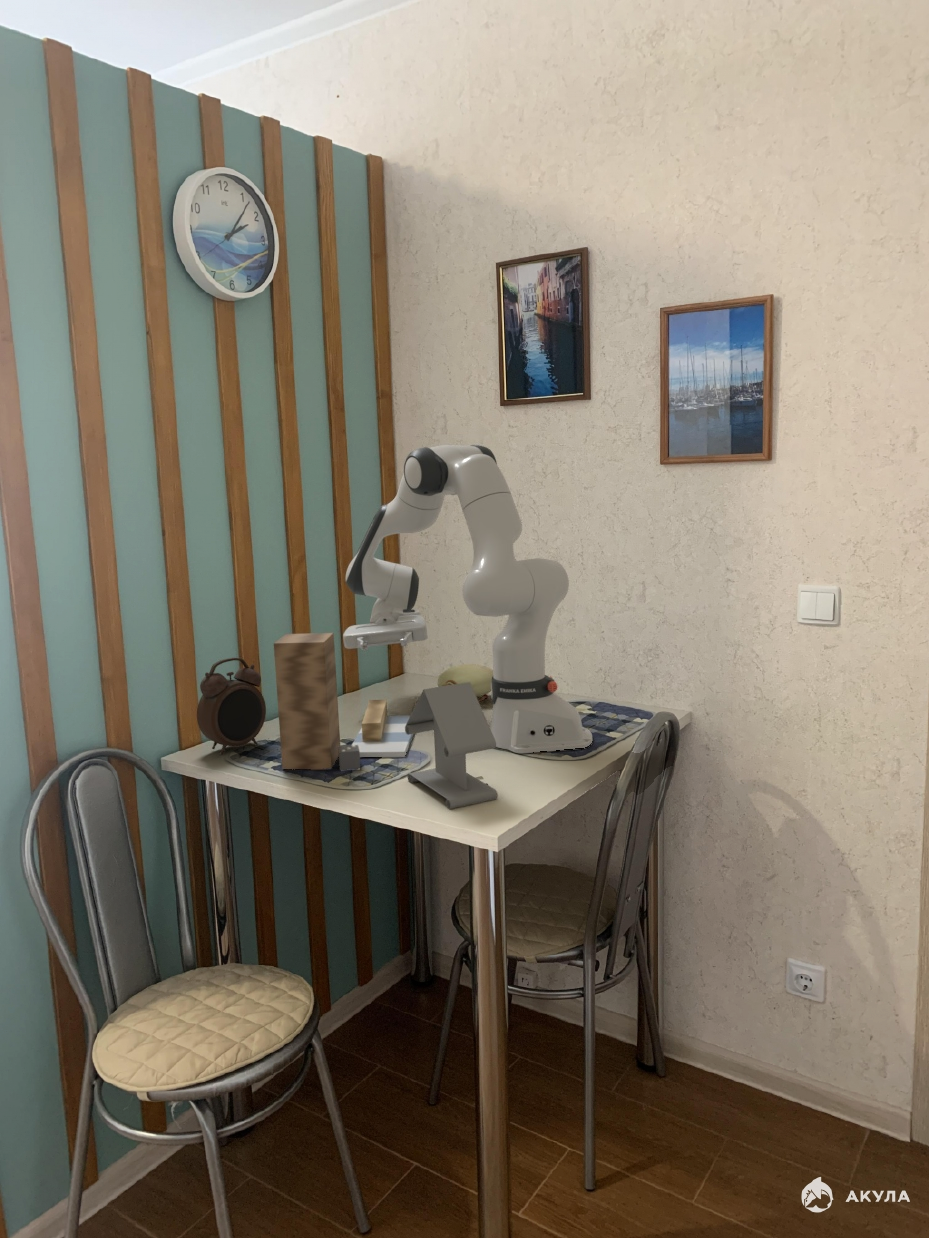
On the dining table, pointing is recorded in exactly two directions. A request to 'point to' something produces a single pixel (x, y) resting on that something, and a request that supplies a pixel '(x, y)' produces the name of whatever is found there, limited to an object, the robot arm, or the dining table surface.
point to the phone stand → (453, 742)
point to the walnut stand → (307, 700)
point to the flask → (469, 678)
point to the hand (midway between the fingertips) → (384, 645)
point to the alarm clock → (231, 706)
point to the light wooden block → (374, 720)
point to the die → (349, 757)
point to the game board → (387, 740)
